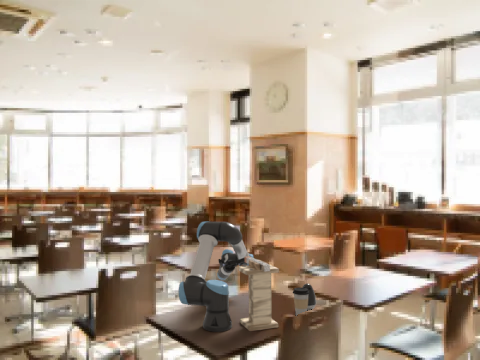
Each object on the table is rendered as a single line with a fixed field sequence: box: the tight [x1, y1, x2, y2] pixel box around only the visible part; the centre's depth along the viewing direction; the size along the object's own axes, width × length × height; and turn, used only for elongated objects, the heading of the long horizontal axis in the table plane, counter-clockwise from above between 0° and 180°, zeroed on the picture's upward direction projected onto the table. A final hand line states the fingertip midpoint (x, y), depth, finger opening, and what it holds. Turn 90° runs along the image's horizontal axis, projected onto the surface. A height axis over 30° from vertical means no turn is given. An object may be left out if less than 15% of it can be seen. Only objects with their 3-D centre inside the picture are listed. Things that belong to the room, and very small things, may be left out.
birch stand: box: [237, 259, 280, 332], centre depth 214 cm, size 14×18×33 cm
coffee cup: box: [292, 287, 309, 317], centre depth 229 cm, size 9×9×15 cm
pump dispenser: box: [301, 283, 317, 311], centre depth 242 cm, size 10×10×15 cm
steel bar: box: [245, 256, 271, 272], centre depth 217 cm, size 28×3×3 cm, turn 20°
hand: (238, 255), depth 245 cm, fingers open, 13 cm apart
